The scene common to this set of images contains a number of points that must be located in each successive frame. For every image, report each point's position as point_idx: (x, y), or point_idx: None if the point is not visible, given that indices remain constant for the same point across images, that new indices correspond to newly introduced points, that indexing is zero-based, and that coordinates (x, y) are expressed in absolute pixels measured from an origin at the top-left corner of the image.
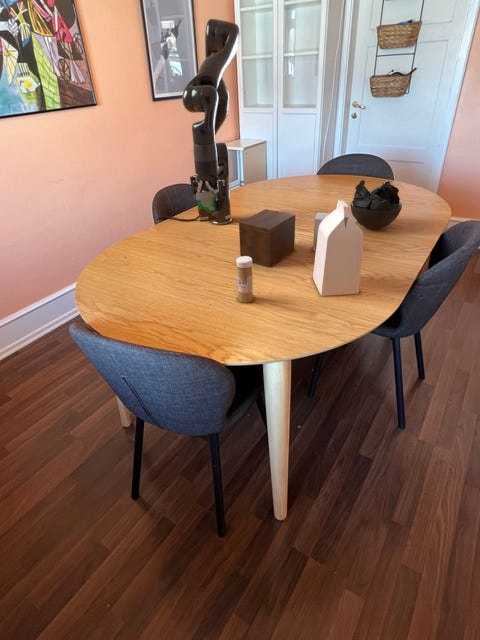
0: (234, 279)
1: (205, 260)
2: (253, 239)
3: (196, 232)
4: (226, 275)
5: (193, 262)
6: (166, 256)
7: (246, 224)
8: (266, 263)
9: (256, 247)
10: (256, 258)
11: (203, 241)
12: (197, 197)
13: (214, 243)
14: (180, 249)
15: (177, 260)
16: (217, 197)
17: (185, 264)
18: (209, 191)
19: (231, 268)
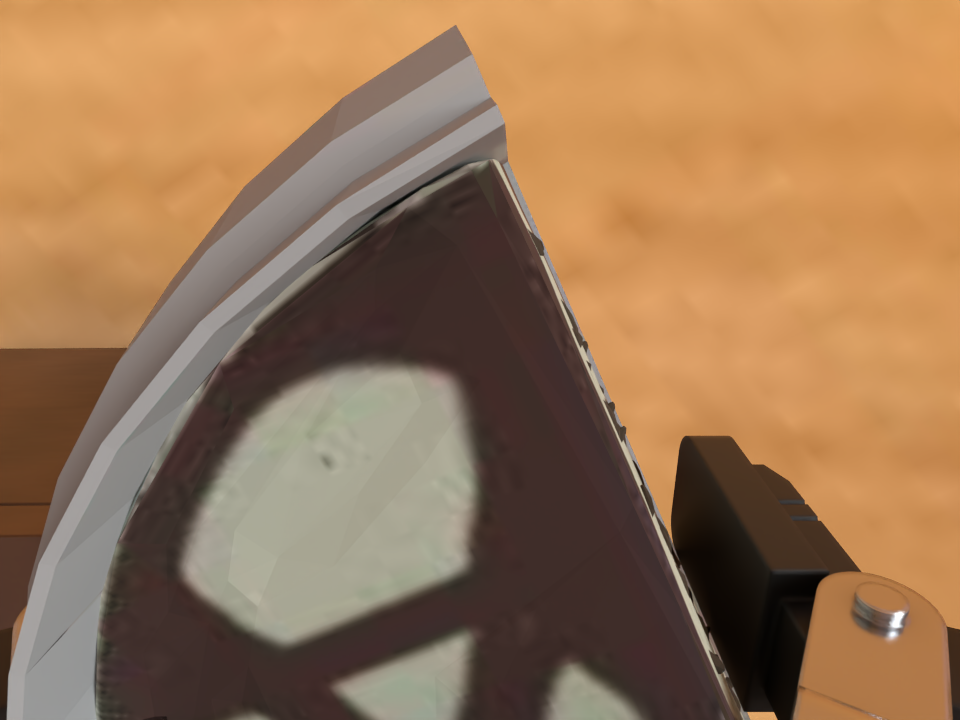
0: (45, 5)
1: (528, 181)
2: (29, 444)
3: (944, 571)
4: (159, 32)
5: (599, 87)
6: (928, 50)
7: (21, 533)
8: (17, 356)
9: (42, 408)
10: (104, 365)
11: (784, 468)
12: (396, 88)
13: (673, 480)
14: (885, 247)
15: (769, 37)
16: (12, 651)
17: (641, 7)
18: (8, 705)
19: (226, 173)
